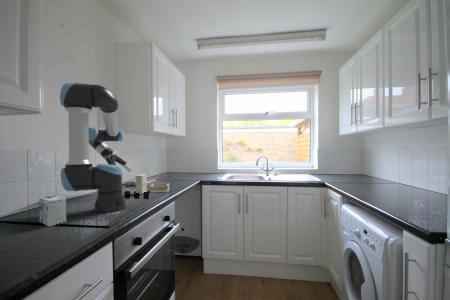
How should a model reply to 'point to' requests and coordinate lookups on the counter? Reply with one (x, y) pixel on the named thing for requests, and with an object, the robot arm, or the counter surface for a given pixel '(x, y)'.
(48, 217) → the light bulb box
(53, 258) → the counter surface
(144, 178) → the supplement box
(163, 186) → the dock
